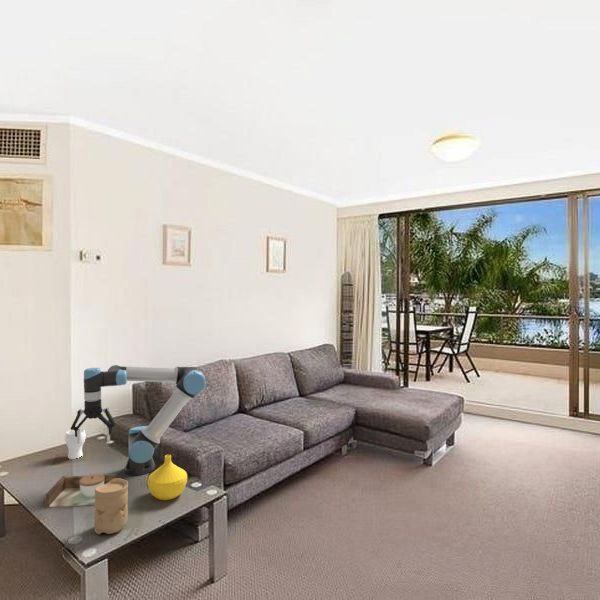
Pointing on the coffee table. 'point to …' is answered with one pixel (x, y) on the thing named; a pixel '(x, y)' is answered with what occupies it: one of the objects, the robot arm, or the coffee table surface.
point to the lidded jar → (91, 484)
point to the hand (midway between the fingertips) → (93, 441)
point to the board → (67, 498)
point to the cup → (74, 443)
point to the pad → (82, 499)
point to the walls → (69, 486)
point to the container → (111, 506)
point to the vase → (167, 480)
